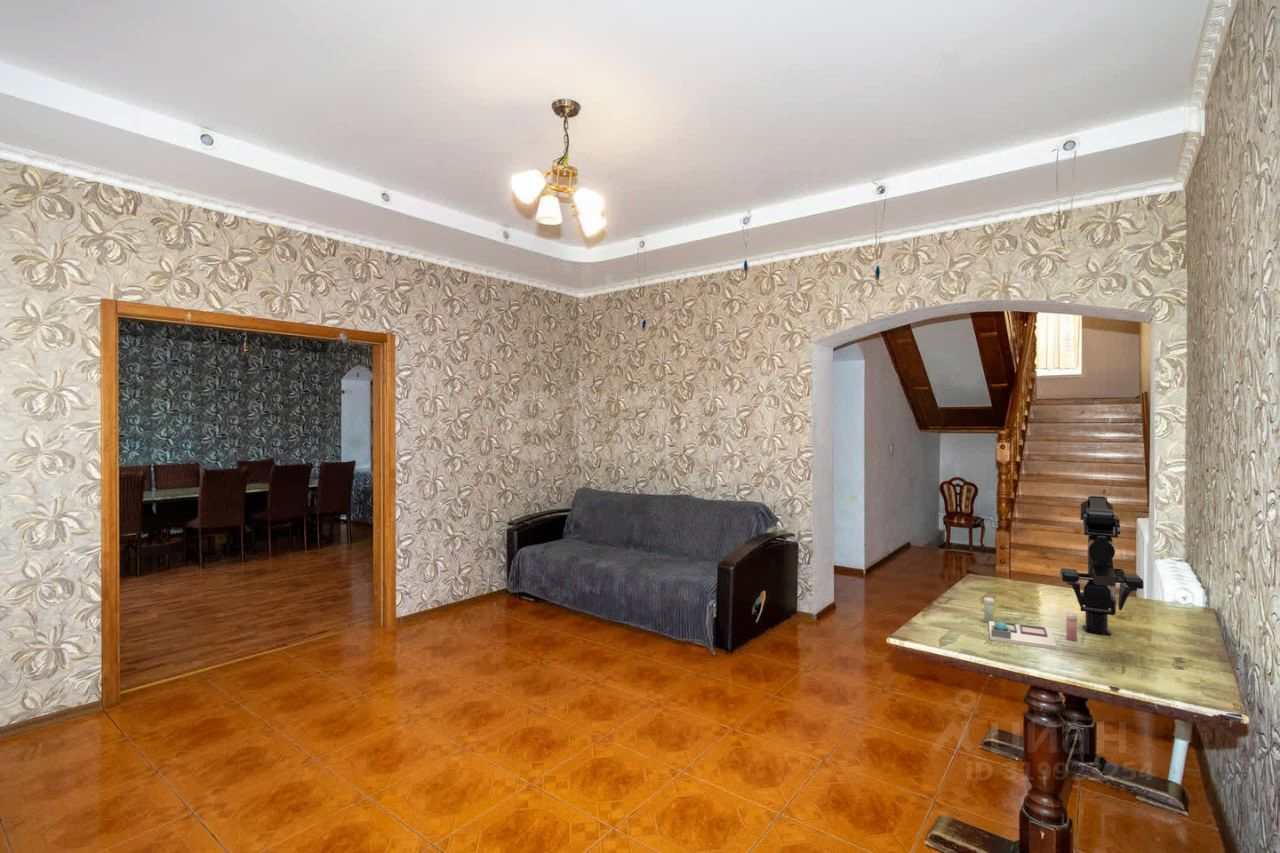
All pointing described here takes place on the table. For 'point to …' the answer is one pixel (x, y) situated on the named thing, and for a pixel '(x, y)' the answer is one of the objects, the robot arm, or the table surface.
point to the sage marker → (988, 609)
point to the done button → (1000, 626)
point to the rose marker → (1071, 626)
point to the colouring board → (1023, 635)
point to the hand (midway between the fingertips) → (1100, 607)
